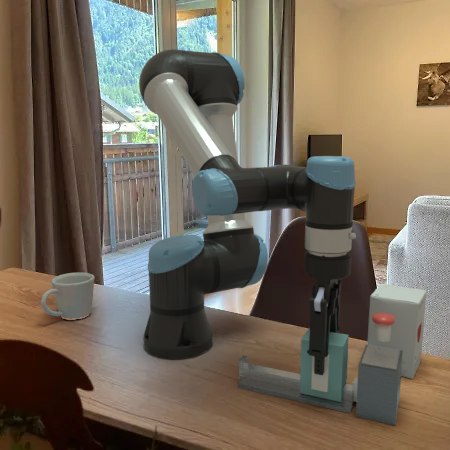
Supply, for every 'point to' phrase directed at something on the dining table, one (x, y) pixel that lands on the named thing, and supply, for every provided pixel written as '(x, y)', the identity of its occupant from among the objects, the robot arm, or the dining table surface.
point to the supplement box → (400, 322)
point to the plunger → (383, 326)
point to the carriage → (336, 367)
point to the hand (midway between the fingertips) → (323, 381)
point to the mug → (71, 295)
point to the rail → (289, 386)
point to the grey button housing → (379, 384)
